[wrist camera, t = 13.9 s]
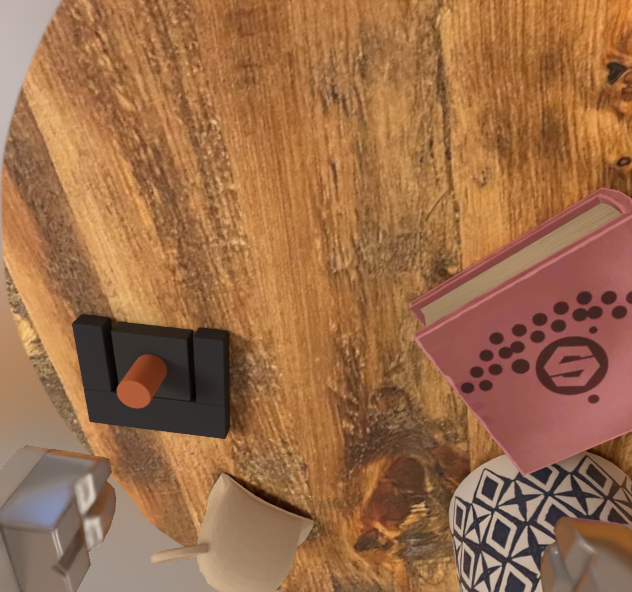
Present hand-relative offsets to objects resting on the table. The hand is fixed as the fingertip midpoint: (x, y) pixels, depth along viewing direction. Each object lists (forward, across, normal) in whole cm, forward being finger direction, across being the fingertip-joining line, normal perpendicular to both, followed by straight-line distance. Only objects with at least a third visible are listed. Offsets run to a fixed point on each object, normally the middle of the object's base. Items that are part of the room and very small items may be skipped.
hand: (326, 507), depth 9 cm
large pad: (+27, +15, +19) cm, 36 cm away
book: (+27, -15, +10) cm, 33 cm away
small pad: (+27, +15, +17) cm, 35 cm away
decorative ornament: (+28, +1, +35) cm, 45 cm away
